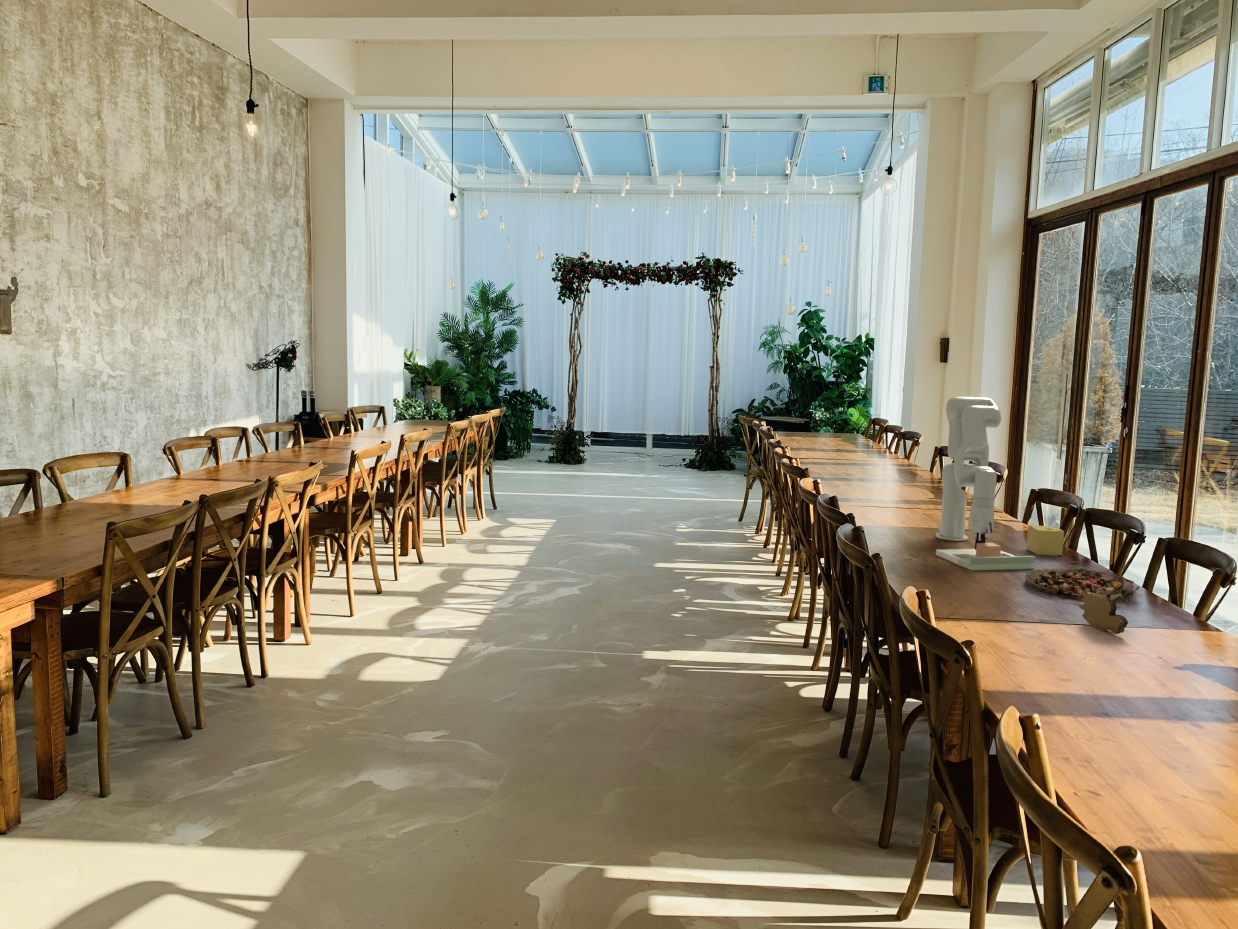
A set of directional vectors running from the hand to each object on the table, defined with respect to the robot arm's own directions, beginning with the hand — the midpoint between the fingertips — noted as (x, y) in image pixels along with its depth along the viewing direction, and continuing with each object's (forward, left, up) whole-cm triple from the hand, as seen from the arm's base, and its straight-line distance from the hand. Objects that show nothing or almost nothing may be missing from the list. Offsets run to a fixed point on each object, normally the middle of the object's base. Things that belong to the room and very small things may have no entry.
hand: (979, 550), depth 331 cm
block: (+5, 0, -2) cm, 6 cm away
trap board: (+2, 0, -4) cm, 4 cm away
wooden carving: (+82, -14, -4) cm, 83 cm away
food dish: (+43, +9, -4) cm, 44 cm away
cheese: (-9, +34, -4) cm, 35 cm away
